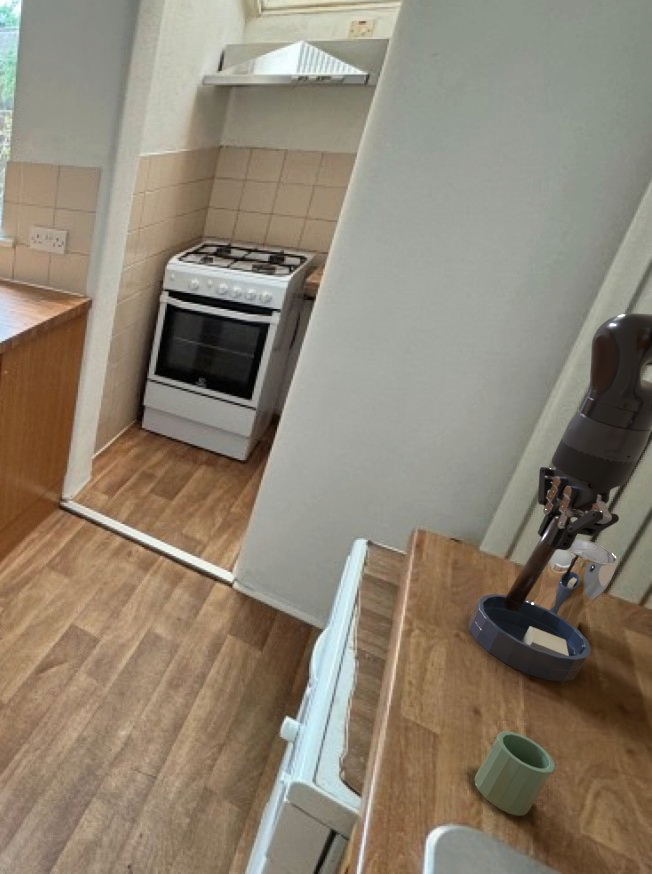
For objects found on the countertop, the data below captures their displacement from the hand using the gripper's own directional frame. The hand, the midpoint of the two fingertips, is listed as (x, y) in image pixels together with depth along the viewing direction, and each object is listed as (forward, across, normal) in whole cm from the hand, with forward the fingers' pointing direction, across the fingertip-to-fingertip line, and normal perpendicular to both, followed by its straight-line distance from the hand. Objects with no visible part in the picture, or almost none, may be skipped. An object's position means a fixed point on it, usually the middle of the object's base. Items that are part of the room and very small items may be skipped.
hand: (551, 541), depth 93 cm
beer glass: (+19, +6, -9) cm, 22 cm away
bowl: (+19, -4, 0) cm, 19 cm away
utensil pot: (+19, -32, +15) cm, 40 cm away
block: (+18, -6, -1) cm, 19 cm away
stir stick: (+14, 0, +1) cm, 14 cm away
